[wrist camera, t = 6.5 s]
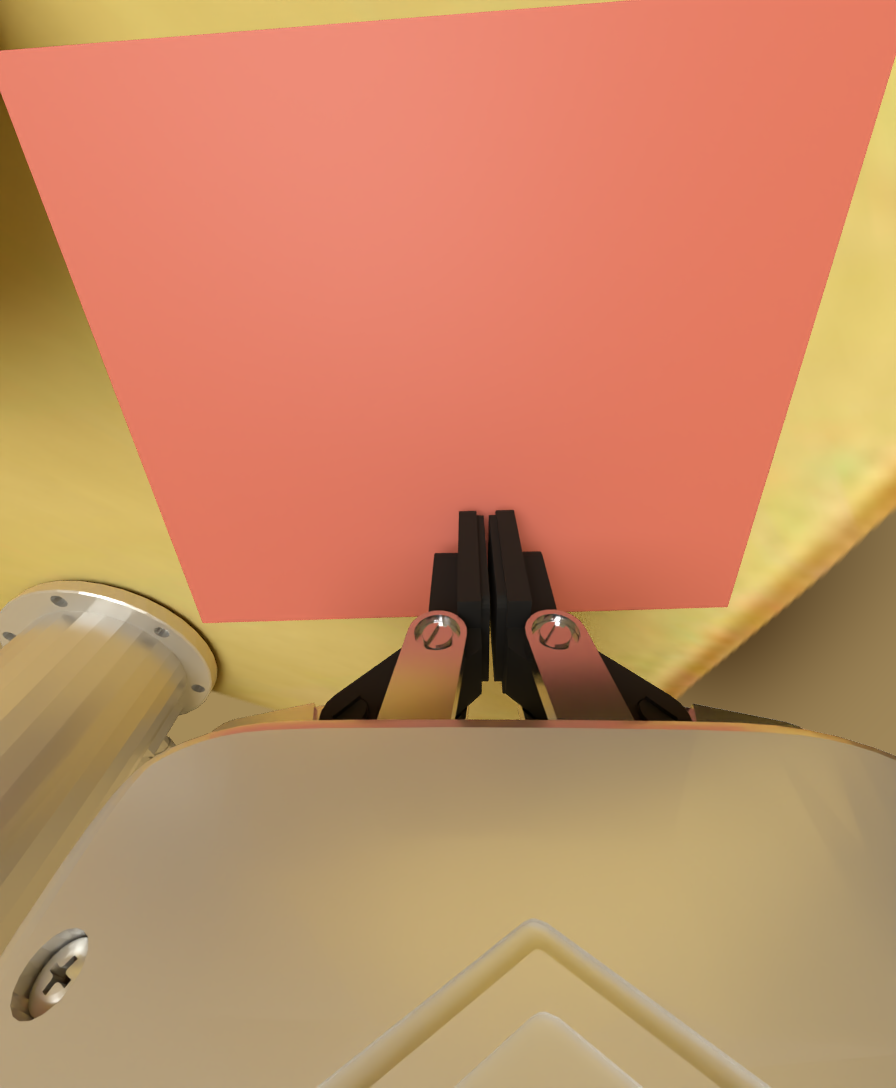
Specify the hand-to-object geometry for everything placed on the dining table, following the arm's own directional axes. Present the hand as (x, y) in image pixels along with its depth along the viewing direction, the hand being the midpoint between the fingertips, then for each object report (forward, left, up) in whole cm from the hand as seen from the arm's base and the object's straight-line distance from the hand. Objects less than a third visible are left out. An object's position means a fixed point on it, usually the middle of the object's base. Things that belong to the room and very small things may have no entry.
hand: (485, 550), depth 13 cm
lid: (+4, +1, -2) cm, 5 cm away
